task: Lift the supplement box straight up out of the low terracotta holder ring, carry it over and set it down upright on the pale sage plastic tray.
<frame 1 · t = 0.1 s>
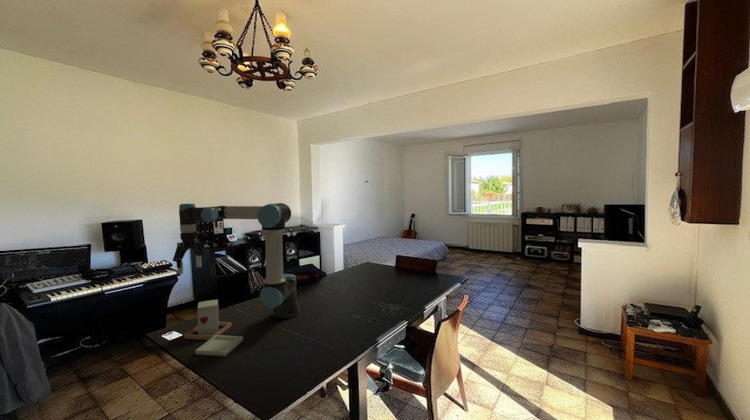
hand: (190, 270, 165), 28 cm above the table, fingers open, 13 cm apart
holder: (208, 331, 152), on the table
supplement box: (208, 332, 152), resting in holder
tray: (220, 347, 137), on the table
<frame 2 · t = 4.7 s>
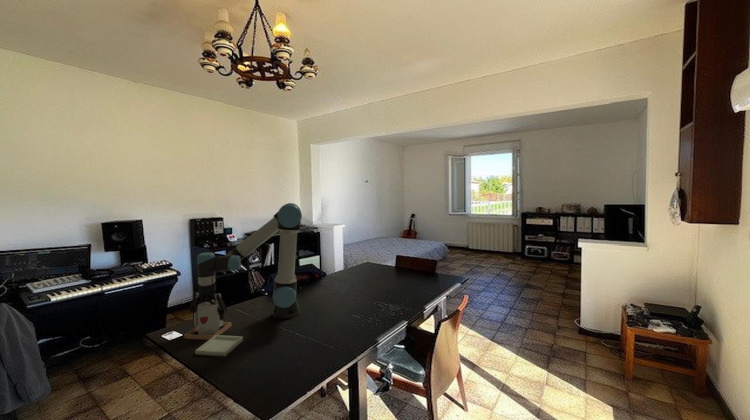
hand: (208, 325, 152), 3 cm above the table, fingers closed on supplement box, 12 cm apart
supplement box: (209, 332, 152), resting in holder, touching gripper
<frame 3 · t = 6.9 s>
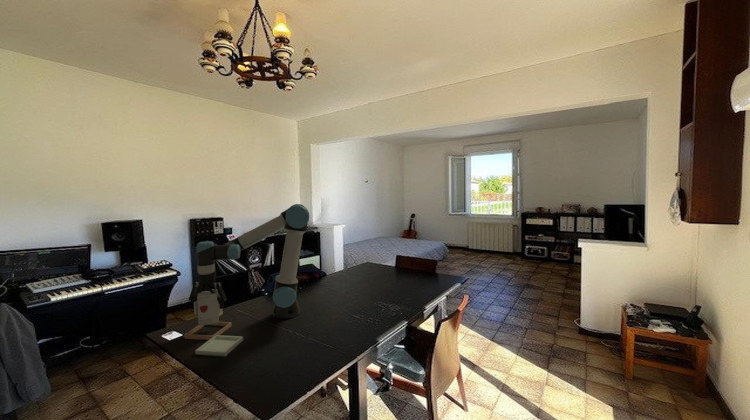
hand: (208, 314, 151), 9 cm above the table, fingers closed on supplement box, 12 cm apart
supplement box: (209, 321, 152), point 5 cm above the table, touching gripper
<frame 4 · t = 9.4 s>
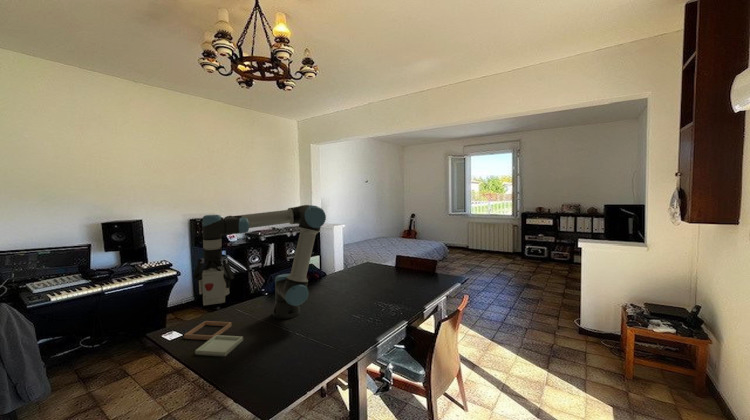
hand: (214, 293, 140), 23 cm above the table, fingers closed on supplement box, 12 cm apart
supplement box: (214, 301, 140), point 20 cm above the table, touching gripper
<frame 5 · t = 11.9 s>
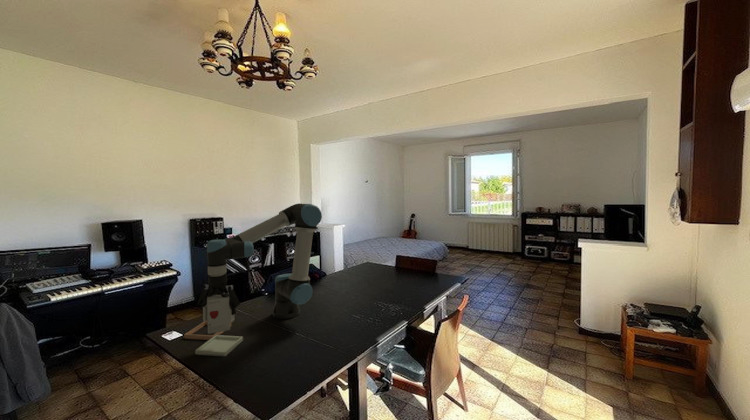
hand: (219, 320, 136), 12 cm above the table, fingers closed on supplement box, 12 cm apart
supplement box: (219, 328, 136), point 9 cm above the table, touching gripper
when the fingers open (5 cm above the table, at t = 14.4 s): supplement box drops 1 cm, resting on tray.
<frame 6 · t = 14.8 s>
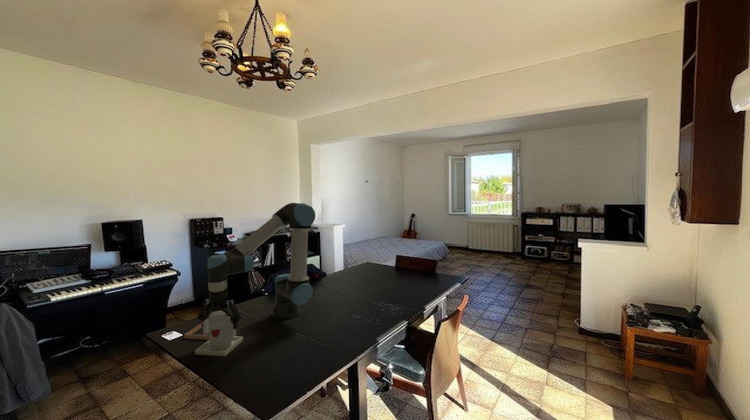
hand: (219, 335, 137), 6 cm above the table, fingers open, 13 cm apart
supplement box: (220, 346, 137), resting on tray
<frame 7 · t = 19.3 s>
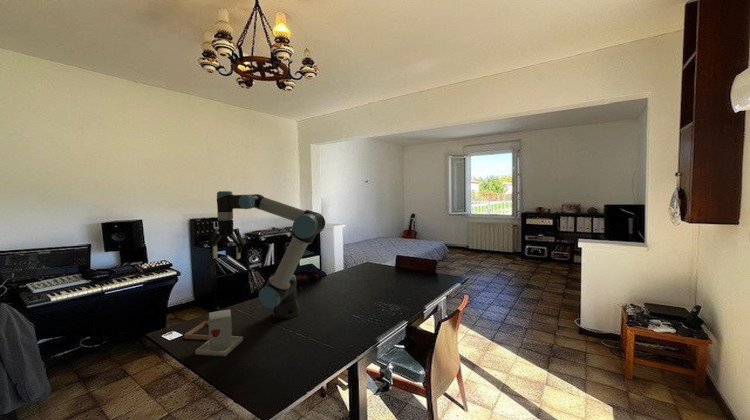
hand: (226, 258, 163), 35 cm above the table, fingers open, 13 cm apart
nothing on the table moved.
at the end: supplement box inside the target area on the tray (0.3 cm from its centre), point 0.4 cm above the tray's base; supplement box tilted 0°; the gripper is holding nothing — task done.
